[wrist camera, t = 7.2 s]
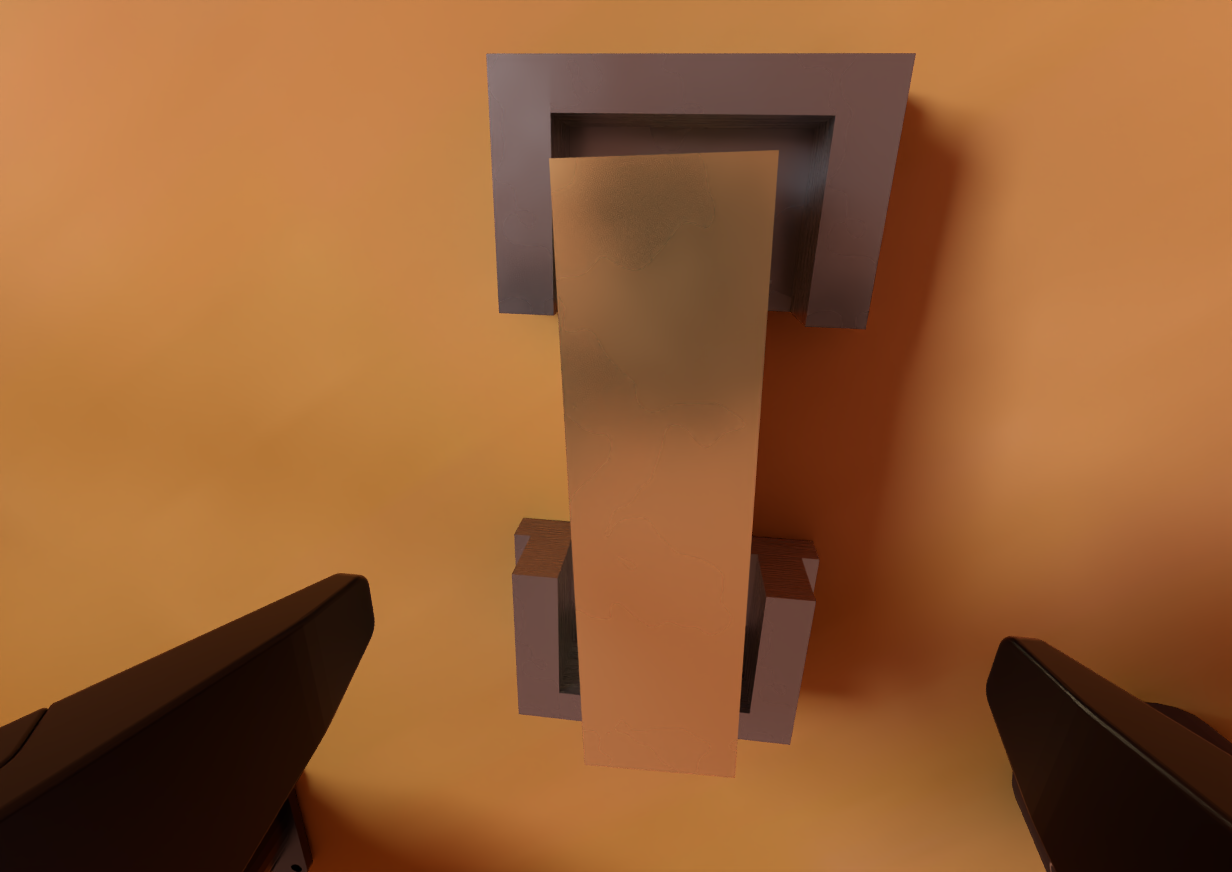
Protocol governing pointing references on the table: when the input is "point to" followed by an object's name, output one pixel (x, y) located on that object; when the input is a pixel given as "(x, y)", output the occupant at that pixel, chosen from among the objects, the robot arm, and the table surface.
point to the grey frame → (799, 283)
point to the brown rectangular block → (662, 441)
